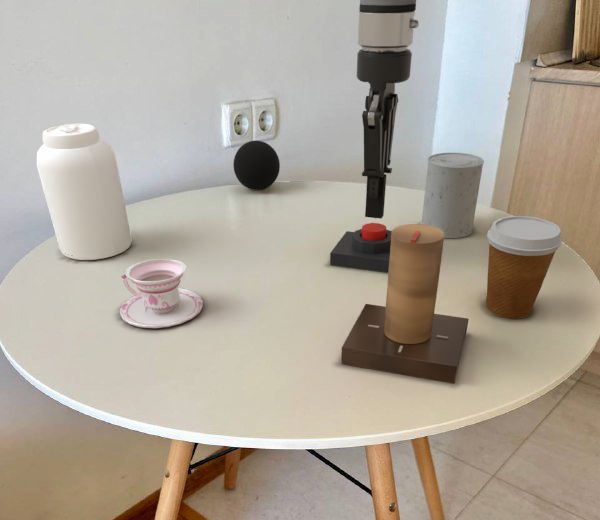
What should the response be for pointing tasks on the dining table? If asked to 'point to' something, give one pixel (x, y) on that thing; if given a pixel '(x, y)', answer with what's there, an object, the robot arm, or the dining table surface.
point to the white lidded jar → (83, 192)
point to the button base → (362, 252)
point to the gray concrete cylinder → (452, 193)
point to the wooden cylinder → (412, 282)
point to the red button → (374, 231)
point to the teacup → (158, 295)
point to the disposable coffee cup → (518, 263)
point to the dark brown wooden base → (406, 347)
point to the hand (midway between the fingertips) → (374, 216)
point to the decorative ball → (256, 165)
